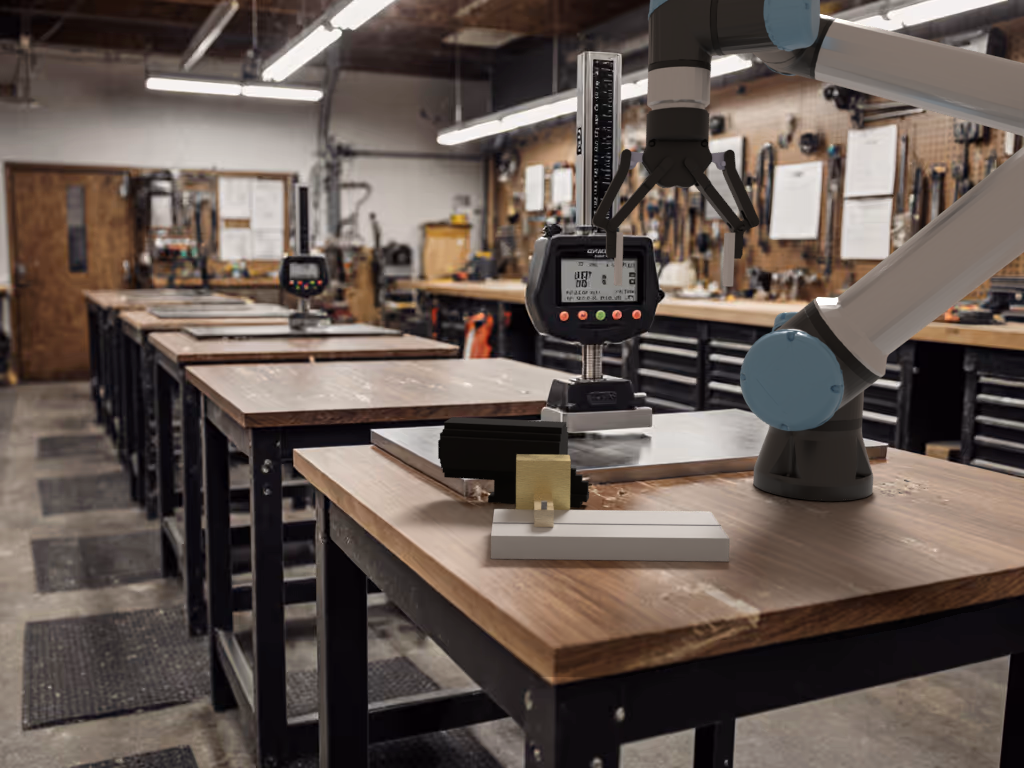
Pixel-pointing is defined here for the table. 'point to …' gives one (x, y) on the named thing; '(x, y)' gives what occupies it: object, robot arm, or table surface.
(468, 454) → the security camera
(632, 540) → the board
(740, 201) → the robot arm
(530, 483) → the pale yellow block
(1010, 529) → the table surface
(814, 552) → the table surface
